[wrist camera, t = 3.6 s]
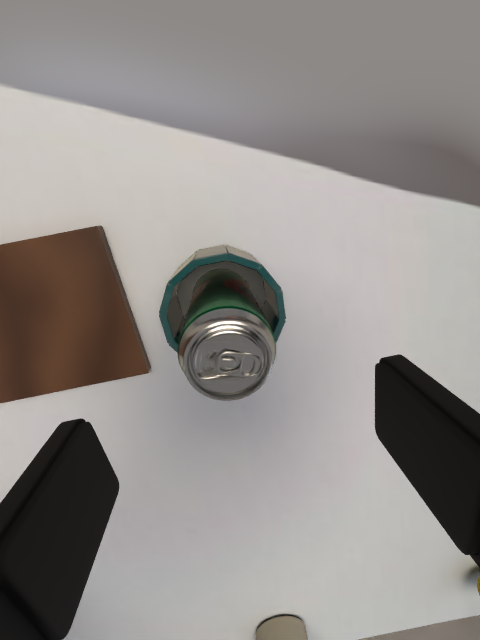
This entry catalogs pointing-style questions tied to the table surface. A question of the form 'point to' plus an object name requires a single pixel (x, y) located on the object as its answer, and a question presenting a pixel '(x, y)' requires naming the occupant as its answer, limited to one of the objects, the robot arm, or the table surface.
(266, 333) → the soda can
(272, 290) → the teal cup
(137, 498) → the table surface
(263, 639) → the travel mug
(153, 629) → the table surface
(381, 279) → the table surface
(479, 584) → the lemon
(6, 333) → the walnut board
